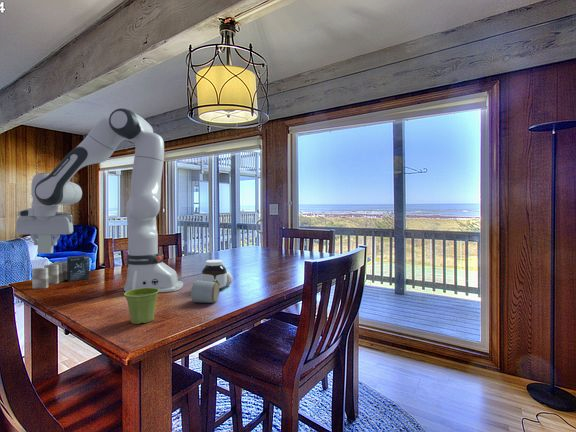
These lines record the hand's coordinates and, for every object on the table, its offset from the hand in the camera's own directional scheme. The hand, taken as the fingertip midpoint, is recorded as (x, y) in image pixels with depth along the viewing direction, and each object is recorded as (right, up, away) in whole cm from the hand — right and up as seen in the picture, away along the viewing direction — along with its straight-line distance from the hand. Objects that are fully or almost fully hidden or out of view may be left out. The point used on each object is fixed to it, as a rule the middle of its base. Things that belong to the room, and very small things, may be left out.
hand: (45, 245), depth 131 cm
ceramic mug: (+72, -19, -19) cm, 77 cm away
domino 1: (0, -3, 0) cm, 3 cm away
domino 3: (0, -17, -3) cm, 18 cm away
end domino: (-2, -17, +12) cm, 20 cm away
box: (+6, -17, +12) cm, 22 cm away
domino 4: (-1, -17, +8) cm, 19 cm away
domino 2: (-1, -17, +4) cm, 18 cm away
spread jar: (+72, -18, -1) cm, 75 cm away
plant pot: (+59, -19, -39) cm, 73 cm away
